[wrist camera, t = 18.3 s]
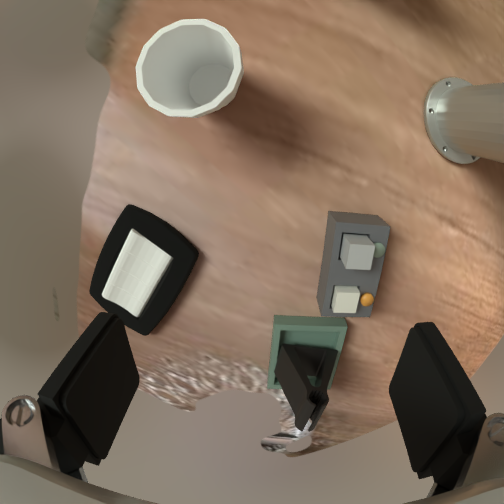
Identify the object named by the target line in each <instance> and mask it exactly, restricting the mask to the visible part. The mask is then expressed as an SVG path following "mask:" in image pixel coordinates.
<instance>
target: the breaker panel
mask: <svg viewBox="0 0 504 504" xmlns="http://www.w3.org/2000/svg"><path fill="white" fill-rule="evenodd" d="M389 232H390V226H389V225H388V224H387V223H386V222H385V221H383V220H382V219H381V218H380V217H379V216H378V215H369V214H358V213H347V212H336V211H328V219H327V228H326V236H325V243H324V251H323V258H322V265H321V272H320V279H319V285H318V292H317V301H318V305H319V309H320V313H321V316H330V317H370V315H371V311H372V308H373V304H374V300H375V296H376V292H377V288H378V284H379V280H380V275H381V271H382V266H383V262H384V257H385V252H386V247H387V242H388V237H389ZM343 234H357V235H367V236H368V238H369V239H370V240H371V241H372V242H373V244H374V245H375V250H374V255H373V260H372V265H371V269H370V270H359V269H346V268H345V266H344V264H343V262H342V260H341V258H340V252H341V246H342V239H343ZM334 285H346V286H357V288H358V290H359V292H360V296H359V301H358V305H357V309H356V313H333V309H332V306H331V297H332V292H333V286H334Z"/></svg>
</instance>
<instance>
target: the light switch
mask: <svg viewBox="0 0 504 504" xmlns="http://www.w3.org/2000/svg"><path fill="white" fill-rule="evenodd" d="M198 254H199V253H198V251H197V250H196V249H195V248H194V247H193V246H192V245H191V244H190V243H189V242H188V241H187V240H186V239H185V238H184V237H183V236H182V235H181V234H180V233H179V232H178V231H176V230H175V229H174V228H173V227H171V226H170V225H169V224H168V223H167V222H165V221H164V220H162V219H160V218H159V217H157V216H155V215H154V214H152V213H150V212H148V211H146V210H143V209H141V208H139V207H136V206H134V205H130V204H129V205H127V206H126V207H125V209H124V210H123V212H122V213H121V215H120V216H119V218H118V219H117V221H116V223H115V225H114V226H113V228H112V230H111V232H110V234H109V235H108V238H107V240H106V242H105V244H104V246H103V248H102V251H101V253H100V256H99V259H98V261H97V264H96V267H95V271H94V274H93V278H92V281H91V286H90V294H91V296H92V297H93V298H94V299H95V300H96V301H97V302H98V303H99V304H100V305H101V306H102V307H103V308H104V309H105V310H106V311H107V312H108V313H114V314H117V315H118V317H119V319H122V320H123V323H124V325H126V326H127V327H129V328H131V329H133V330H134V331H136V332H138V333H140V334H142V335H148V334H149V333H150V332H151V331H152V330H153V329H154V328H155V327H156V326H157V324H158V323H159V322H160V321H161V319H162V318H163V317H164V316H165V314H166V313H167V312H168V310H169V309H170V307H171V306H172V304H173V303H174V302H175V300H176V298H177V297H178V295H179V293H180V292H181V290H182V288H183V286H184V285H185V283H186V281H187V279H188V277H189V275H190V273H191V271H192V269H193V267H194V265H195V262H196V260H197V258H198Z"/></svg>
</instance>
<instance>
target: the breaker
mask: <svg viewBox="0 0 504 504" xmlns="http://www.w3.org/2000/svg"><path fill="white" fill-rule="evenodd" d="M374 250H375V245H374V244H373V242H372V241H371V240H370V239H369V238H368V236H367V235H357V234H343V239H342V246H341V252H340V258H341V260H342V262H343V264H344V266H345V268H346V269H359V270H370V269H371V265H372V260H373V255H374Z"/></svg>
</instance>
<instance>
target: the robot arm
mask: <svg viewBox="0 0 504 504" xmlns="http://www.w3.org/2000/svg"><path fill="white" fill-rule="evenodd" d="M429 111H430V113H429ZM424 122H425V127H426V131H427V133H428V136H429V138H430V140H431V142H432V144H433V146H434V147H435V148H436V149H437V151H438V152H439V153H440V154H441V155H442V156H443V157H445V158H447V159H448V160H450V161H453V162H455V163H460V164H469V163H473V162H475V161H477V160H478V159H480V158H485V159H489V160H493V161H497V162H501V163H504V83H493V84H483V85H472V84H471V83H469V82H467V81H465V80H463V79H460V78H453V77H450V78H445V79H442V80H440V81H438V82H437V83H435V84H434V85H433V86H432V87H431V89H430V90H429V92H428V94H427V96H426V99H425V103H424ZM138 385H139V374H138V371H137V368H136V364H135V361H134V358H133V355H132V351H131V348H130V345H129V341H128V337H127V334H126V330H125V326H124V323H123V320H122V319H119V317H118V315H117V314H114V313H106V312H100V313H99V314H98V315H97V316H96V317H95V319H94V320H93V321H92V322H91V324H90V325H89V326H88V327H87V329H86V330H85V331H84V332H83V334H82V335H81V336H80V337H79V339H78V340H77V341H76V343H75V344H74V345H73V346H72V348H71V349H70V351H69V352H68V353H67V354H66V356H65V357H64V358H63V360H62V361H61V362H60V364H59V365H58V367H57V368H56V369H55V370H54V372H53V373H52V374H51V376H50V377H49V379H48V380H47V381H46V383H45V384H44V386H43V387H42V388H41V390H40V391H39V393H38V395H39V398H38V400H37V401H36V400H35V398H33V397H31V396H27V395H21V396H17V397H15V398H12V399H11V400H10V401H8V403H7V404H6V405H5V406H4V408H3V411H2V418H1V419H0V504H157V503H153V502H149V501H145V500H141V499H137V498H134V497H130V496H127V495H123V494H120V493H117V492H113V491H110V490H107V489H104V488H101V487H98V486H95V485H92V484H89V483H88V481H87V478H86V475H85V473H84V470H83V467H82V466H83V464H84V462H85V461H86V462H89V463H92V464H95V465H99V464H100V462H101V459H105V458H106V457H107V455H108V452H109V450H110V448H111V446H112V443H113V441H114V439H115V436H116V434H117V432H118V430H119V427H120V425H121V423H122V421H123V418H124V416H125V414H126V412H127V409H128V407H129V405H130V403H131V401H132V398H133V396H134V394H135V392H136V390H137V388H138ZM389 394H390V397H391V400H392V404H393V407H394V410H395V413H396V416H397V419H398V422H399V425H400V429H401V432H402V435H403V439H404V442H405V445H406V449H407V452H408V456H409V460H410V463H411V467H412V470H413V471H414V472H417V474H418V478H419V479H422V478H426V477H430V476H433V478H434V484H433V486H432V488H431V490H430V492H429V494H428V496H427V498H425V499H421V500H416V501H412V502H408V503H404V504H504V414H503V413H494V414H492V415H490V416H488V417H486V414H485V412H486V409H485V407H484V405H483V403H482V401H481V399H480V398H479V396H478V394H477V392H476V390H475V389H474V387H473V385H472V383H471V381H470V380H469V378H468V376H467V375H466V373H465V371H464V370H463V368H462V366H461V365H460V363H459V361H458V360H457V358H456V356H455V355H454V353H453V352H452V350H451V348H450V347H449V345H448V344H447V342H446V341H445V339H444V337H443V336H442V334H441V333H440V331H439V330H438V328H437V327H436V325H435V324H434V323H433V322H423V323H416V324H415V326H414V327H413V328H411V329H410V331H409V334H408V337H407V340H406V343H405V345H404V348H403V351H402V354H401V357H400V359H399V362H398V365H397V367H396V370H395V373H394V375H393V378H392V380H391V383H390V386H389Z"/></svg>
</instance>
